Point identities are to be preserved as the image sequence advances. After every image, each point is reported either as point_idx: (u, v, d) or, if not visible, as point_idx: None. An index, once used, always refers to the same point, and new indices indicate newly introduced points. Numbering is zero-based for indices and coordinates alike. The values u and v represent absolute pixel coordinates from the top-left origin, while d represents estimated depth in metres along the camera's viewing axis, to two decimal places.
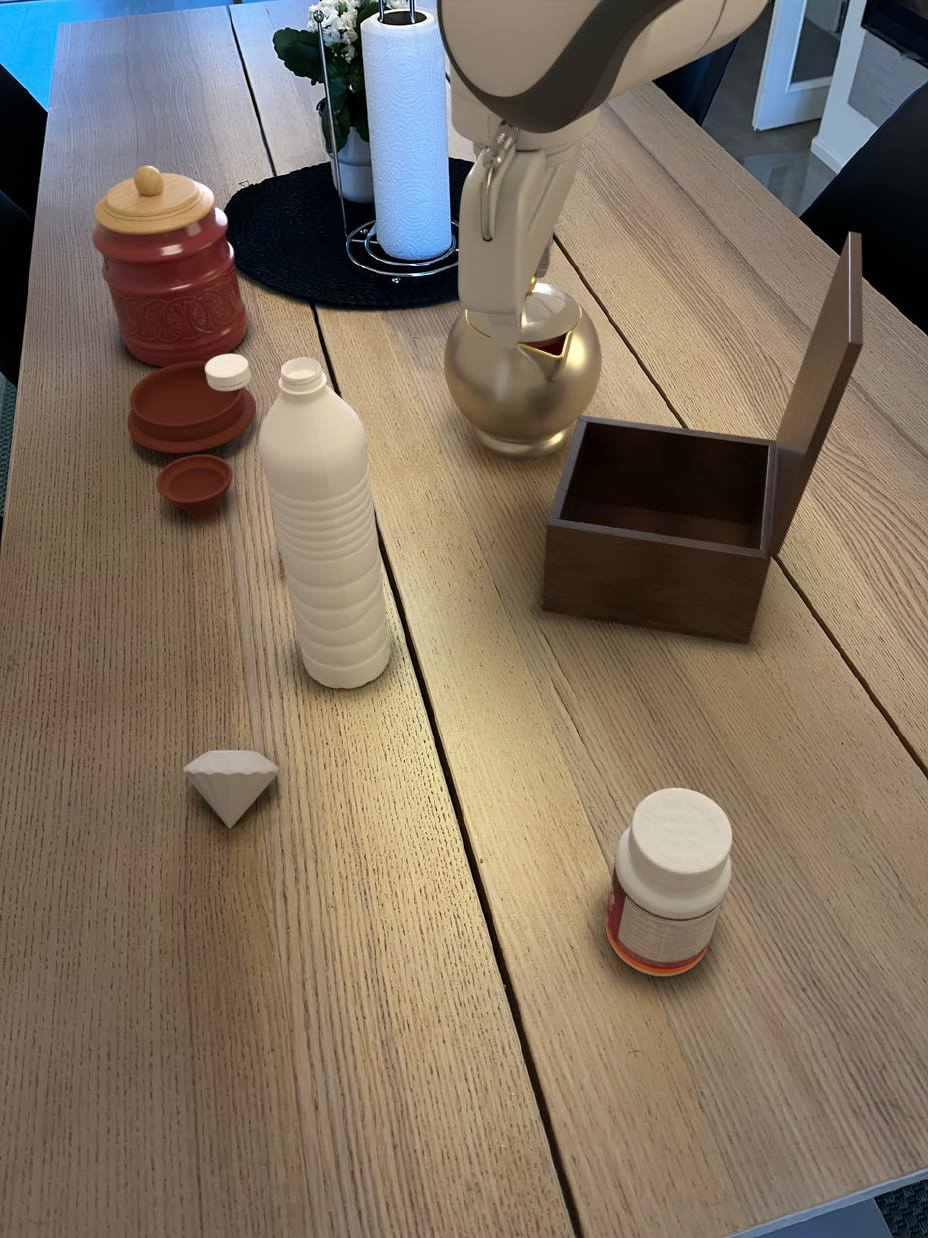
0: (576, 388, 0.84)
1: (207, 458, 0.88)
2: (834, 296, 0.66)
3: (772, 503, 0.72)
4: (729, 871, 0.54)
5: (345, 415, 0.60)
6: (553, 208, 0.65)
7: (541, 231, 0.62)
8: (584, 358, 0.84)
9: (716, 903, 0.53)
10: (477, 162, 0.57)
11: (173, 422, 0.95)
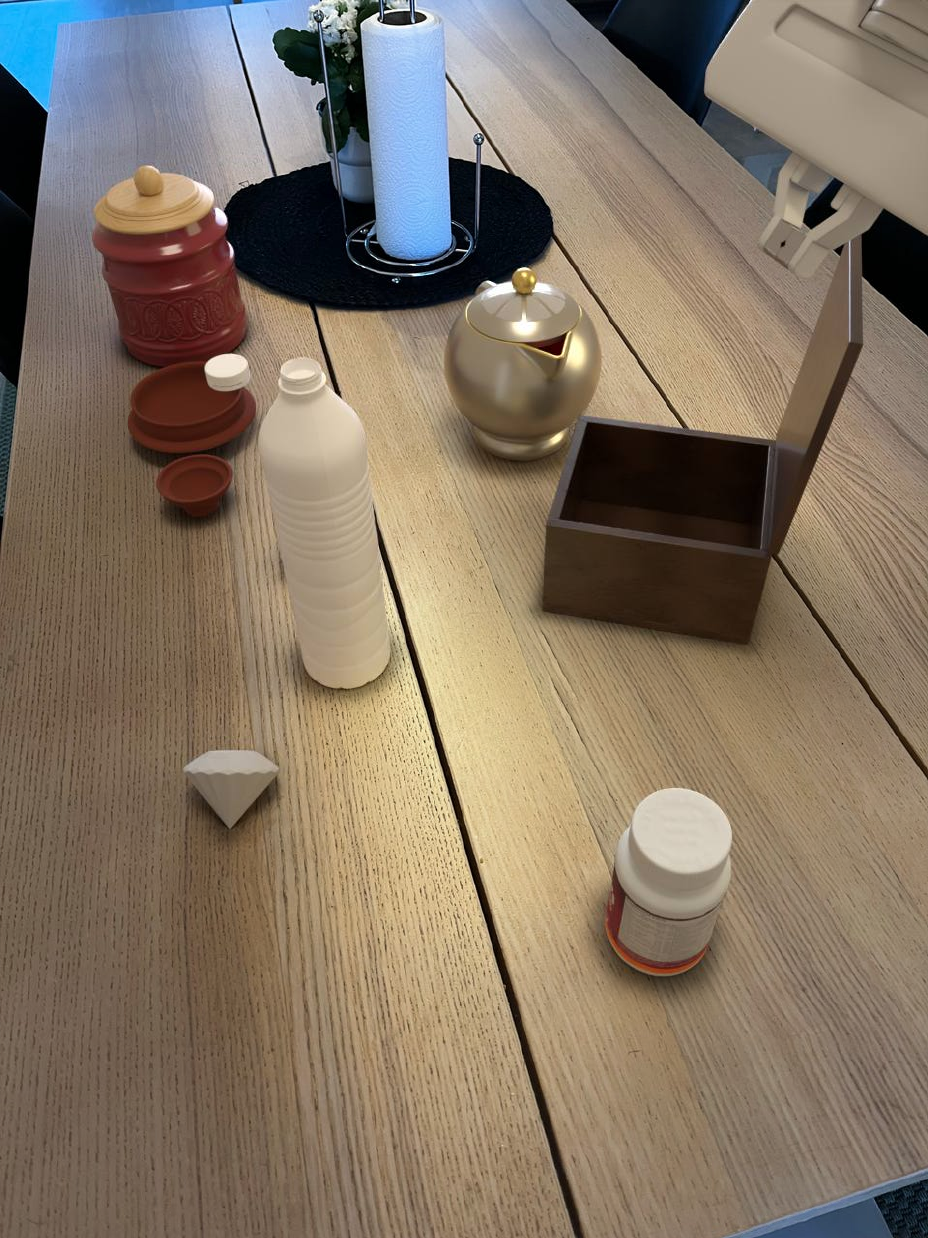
0: (576, 388, 0.84)
1: (207, 458, 0.88)
2: (834, 296, 0.66)
3: (772, 503, 0.72)
4: (729, 871, 0.54)
5: (344, 415, 0.60)
6: (856, 134, 0.48)
7: (804, 95, 0.50)
8: (584, 358, 0.84)
9: (716, 903, 0.53)
10: None
11: (173, 422, 0.95)
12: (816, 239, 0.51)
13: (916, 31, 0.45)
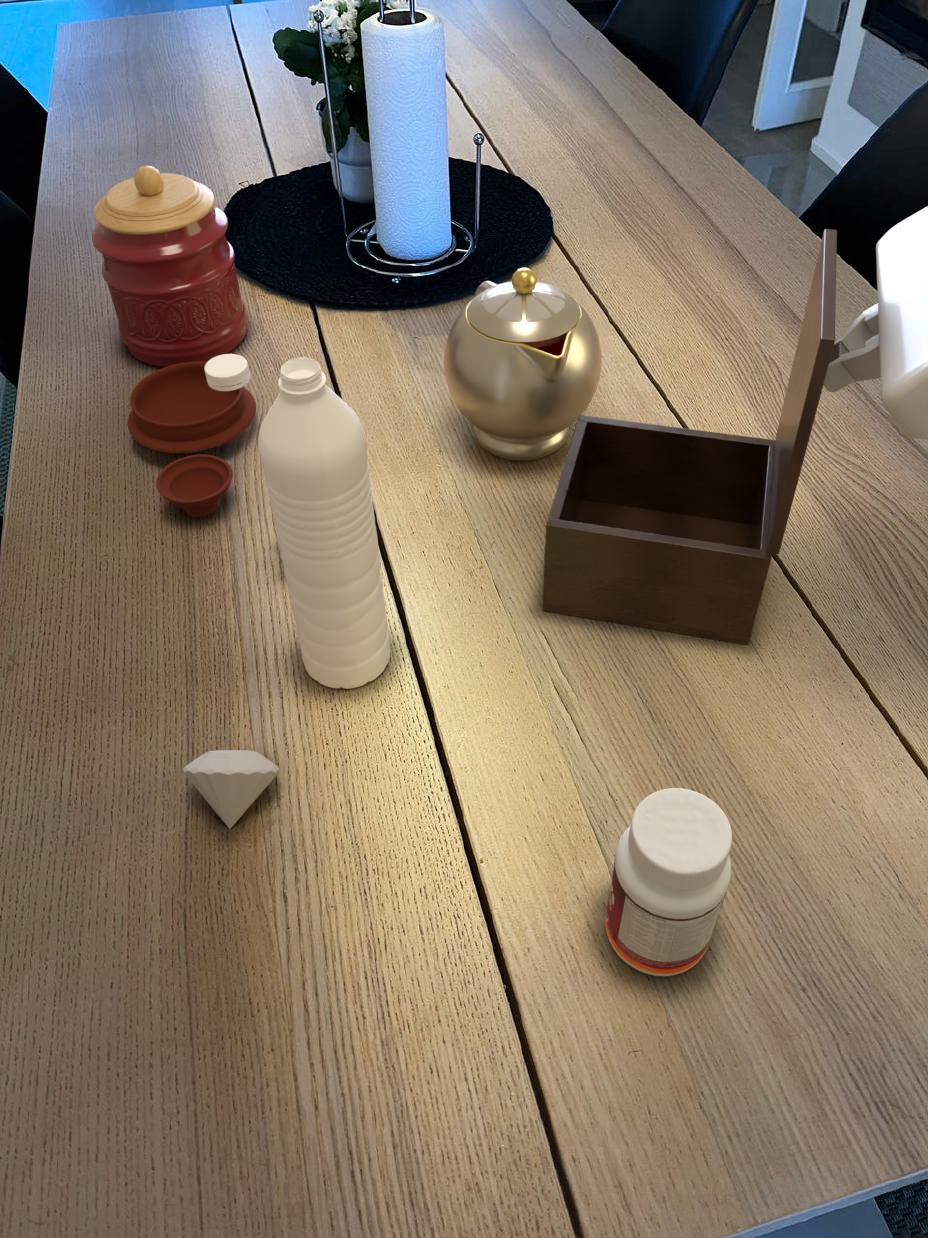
0: (576, 388, 0.84)
1: (207, 458, 0.88)
2: (813, 294, 0.66)
3: (771, 503, 0.72)
4: (729, 871, 0.54)
5: (344, 415, 0.60)
6: (906, 300, 0.61)
7: (908, 265, 0.63)
8: (584, 358, 0.84)
9: (716, 903, 0.53)
10: None
11: (173, 422, 0.95)
12: (842, 360, 0.64)
13: None
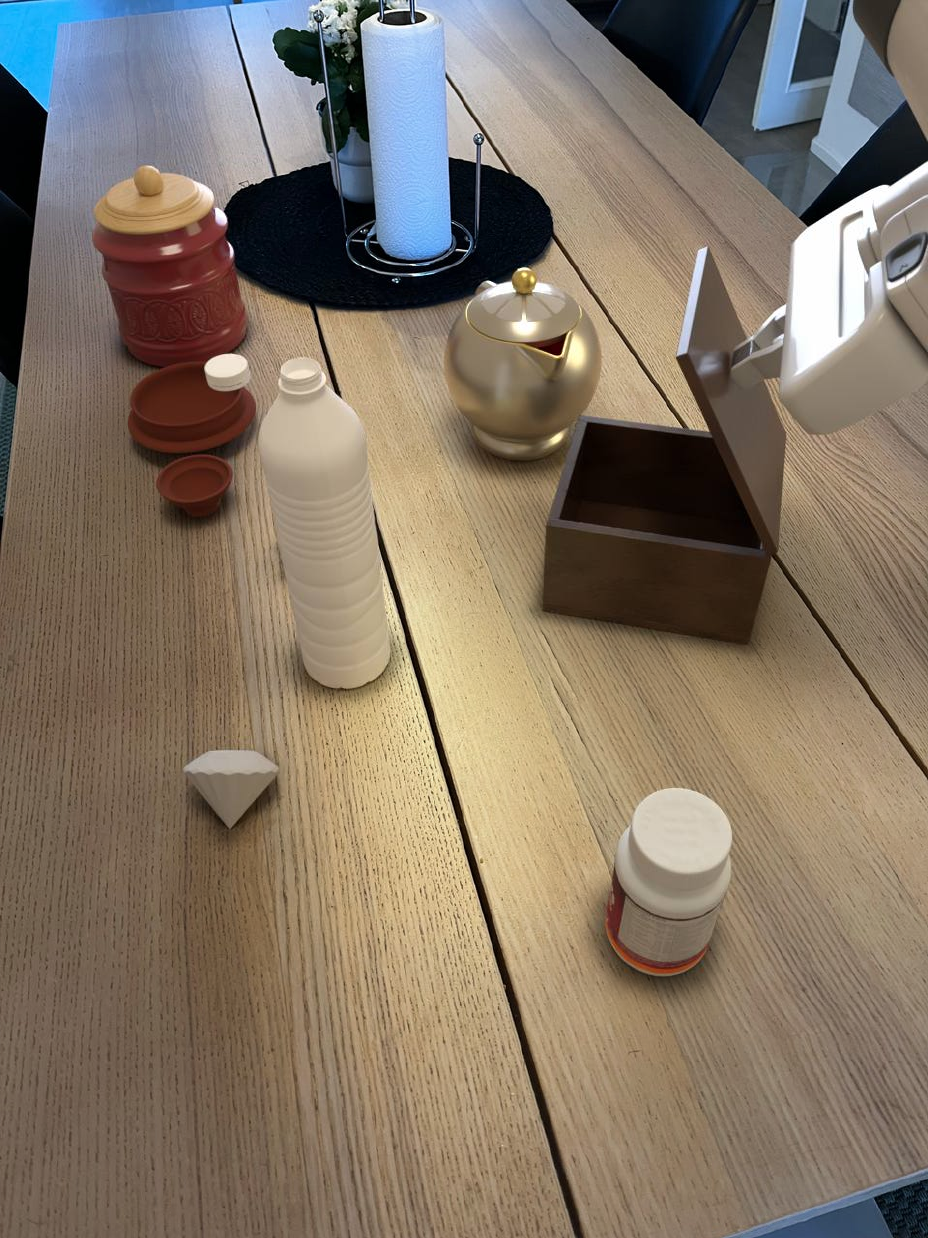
0: (576, 388, 0.84)
1: (207, 458, 0.88)
2: None
3: None
4: (729, 871, 0.54)
5: (344, 415, 0.60)
6: (810, 300, 0.62)
7: (816, 266, 0.65)
8: (584, 358, 0.84)
9: (716, 903, 0.53)
10: None
11: (173, 422, 0.95)
12: (752, 358, 0.65)
13: (868, 245, 0.59)
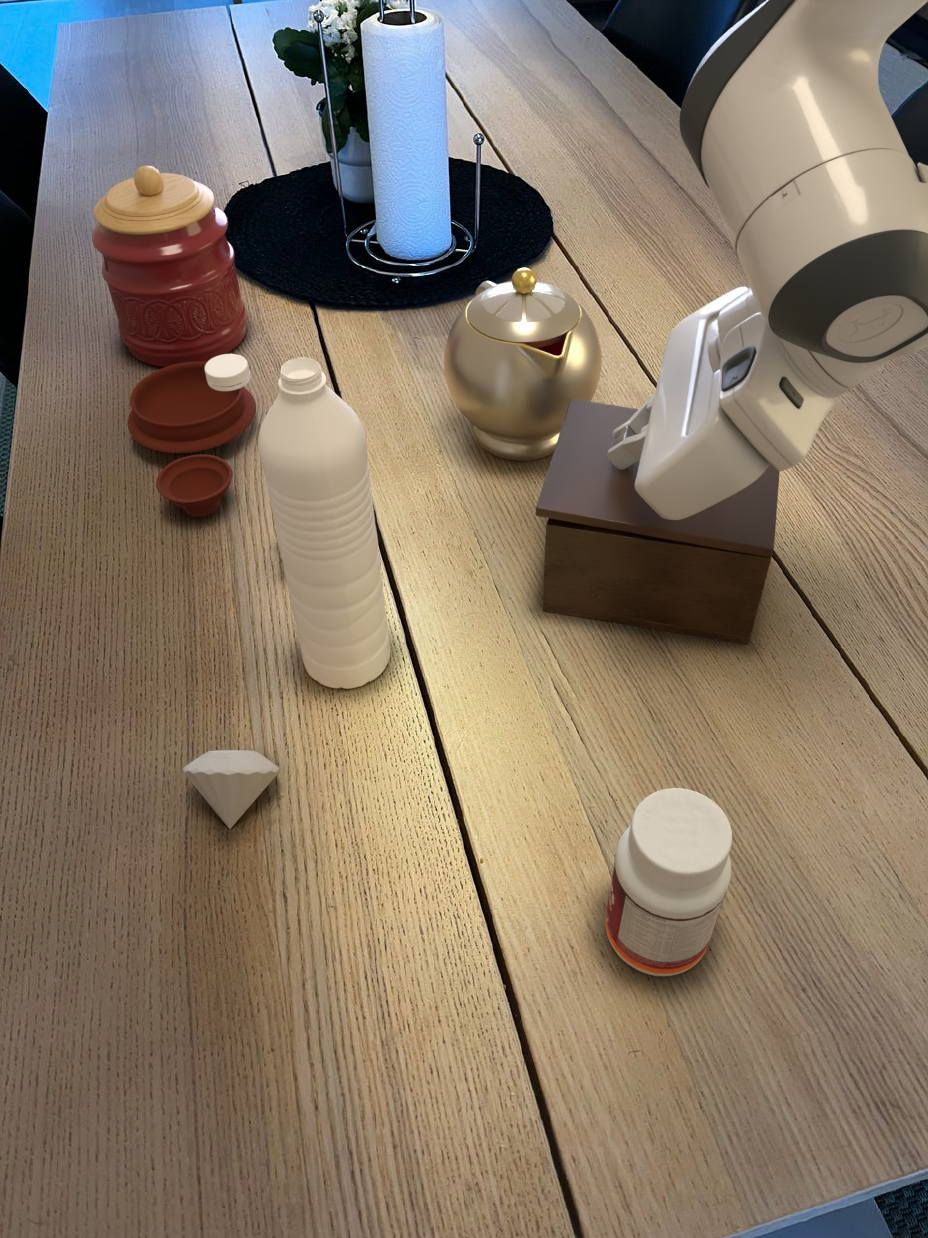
0: (576, 388, 0.84)
1: (207, 458, 0.88)
2: None
3: None
4: (729, 871, 0.54)
5: (344, 415, 0.60)
6: (671, 394, 0.69)
7: (681, 360, 0.72)
8: (584, 358, 0.84)
9: (716, 903, 0.53)
10: None
11: (173, 422, 0.95)
12: (624, 443, 0.72)
13: (715, 350, 0.66)
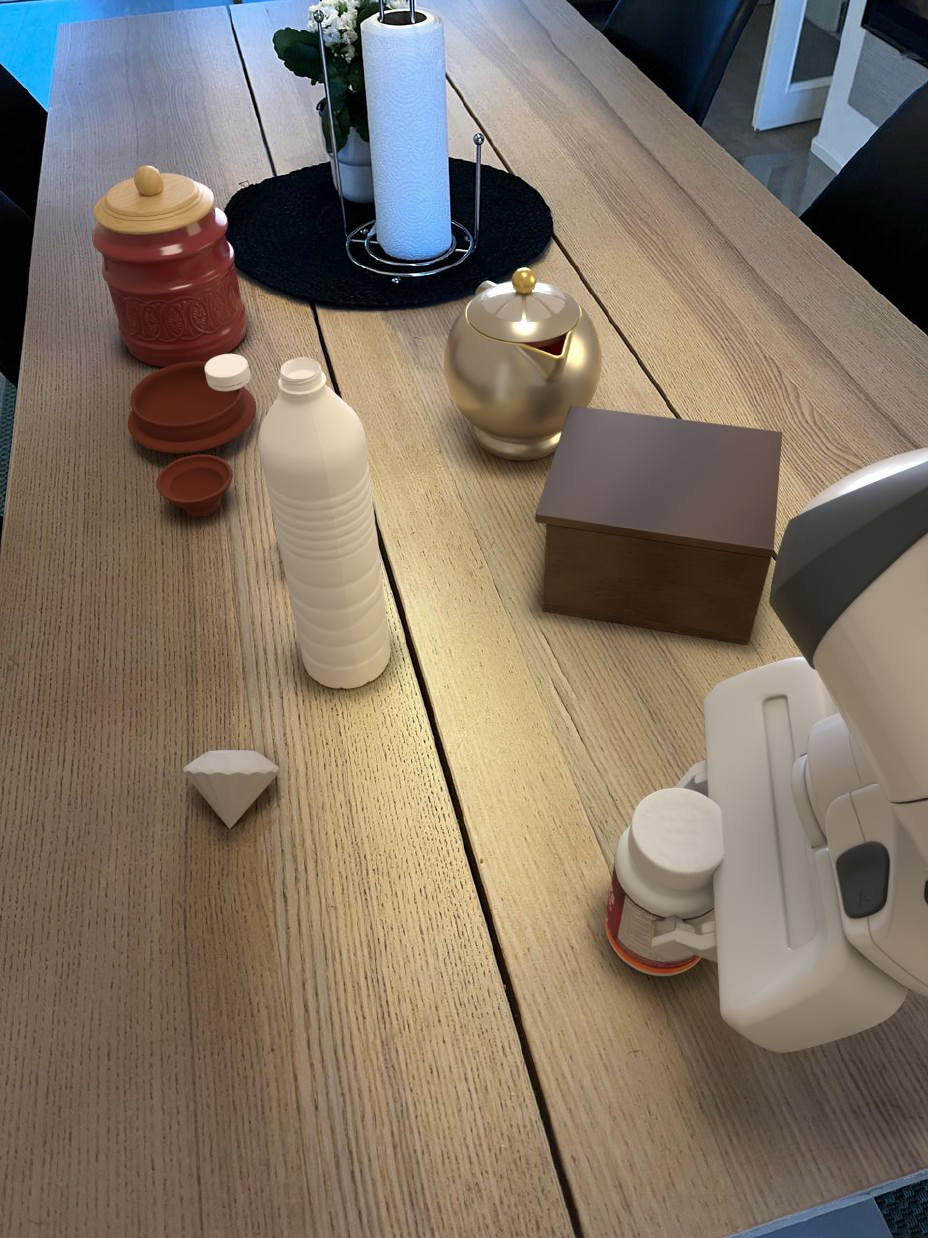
0: (576, 388, 0.84)
1: (207, 458, 0.88)
2: None
3: None
4: None
5: (344, 415, 0.60)
6: (740, 838, 0.51)
7: (740, 772, 0.53)
8: (584, 358, 0.84)
9: None
10: None
11: (173, 422, 0.95)
12: (677, 941, 0.52)
13: (807, 805, 0.48)
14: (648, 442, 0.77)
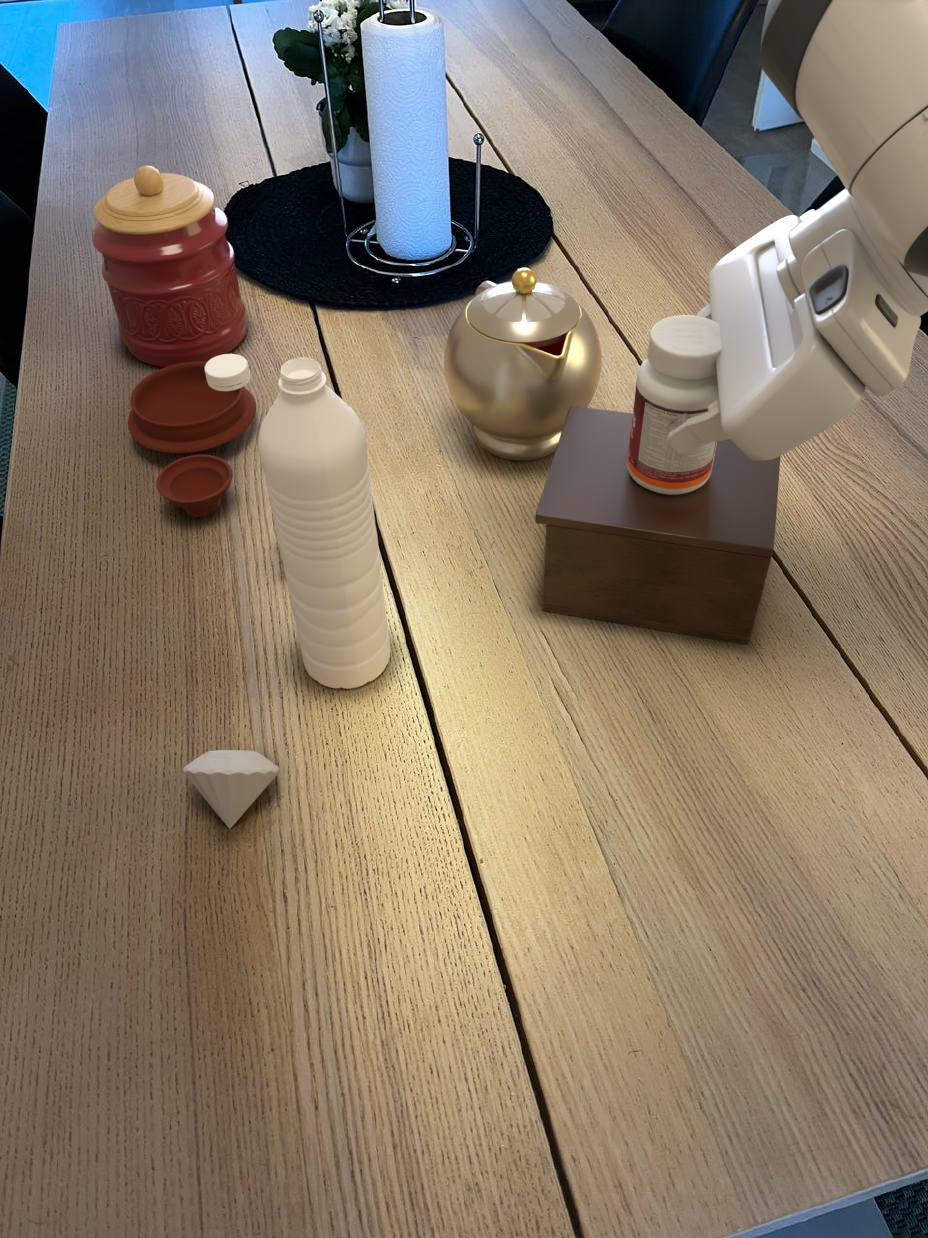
0: (576, 388, 0.84)
1: (207, 458, 0.88)
2: None
3: None
4: None
5: (344, 415, 0.60)
6: (737, 331, 0.65)
7: (737, 297, 0.68)
8: (584, 358, 0.84)
9: None
10: None
11: (173, 422, 0.95)
12: (688, 425, 0.65)
13: (788, 277, 0.62)
14: None
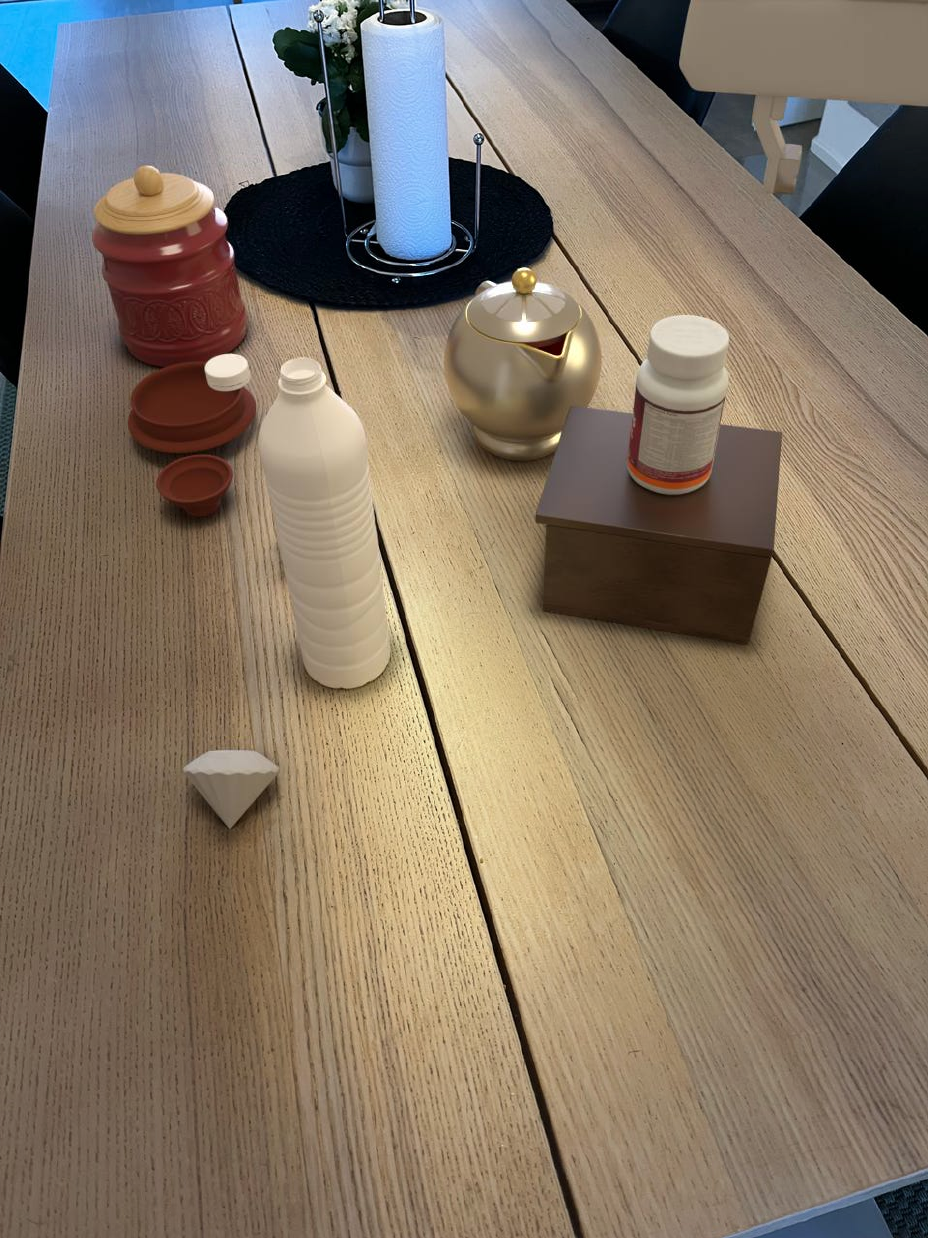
0: (576, 388, 0.84)
1: (207, 458, 0.88)
2: None
3: None
4: (727, 379, 0.68)
5: (344, 415, 0.60)
6: None
7: (848, 44, 0.42)
8: (584, 358, 0.84)
9: (716, 400, 0.68)
10: None
11: (173, 422, 0.95)
12: None
13: None
14: None
